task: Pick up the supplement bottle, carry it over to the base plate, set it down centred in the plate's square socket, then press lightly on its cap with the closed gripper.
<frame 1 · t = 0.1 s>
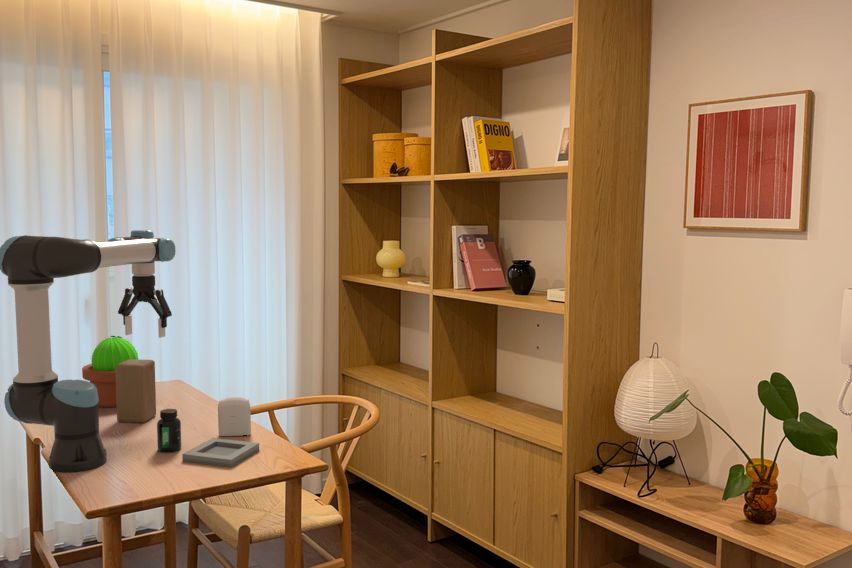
hand: (145, 335, 270), 28 cm above the table, tool pointing down, fingers open, 13 cm apart
base plate: (221, 455, 230), on the table
photo printer: (234, 435, 250), on the table
potted cactus: (116, 401, 289), on the table
wooden block: (137, 419, 267), on the table
supplement bottle: (169, 449, 235), on the table
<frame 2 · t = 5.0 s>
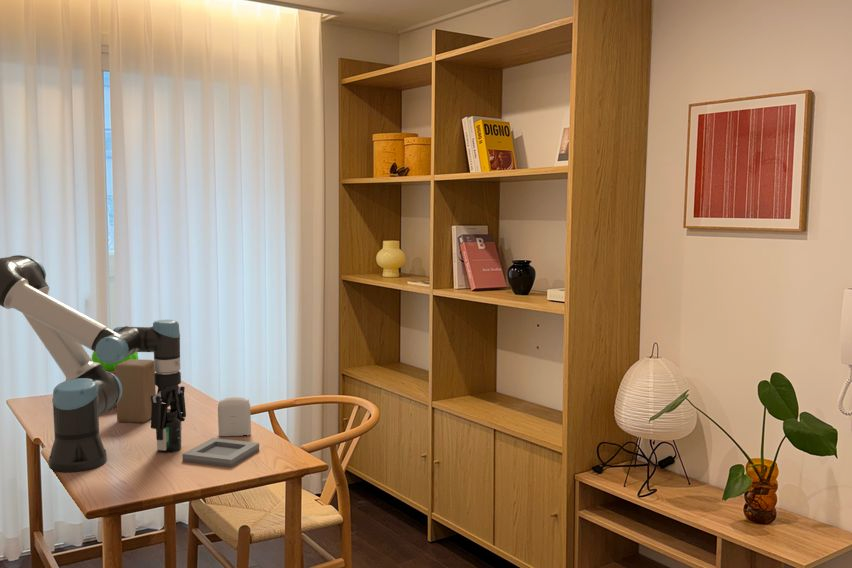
hand: (169, 445, 235), 1 cm above the table, tool pointing down, fingers closed on supplement bottle, 7 cm apart
supplement bottle: (169, 449, 235), on the table, touching gripper
everything else where it was.
when the fingers open (3 cm above the table, at t = 11.0 s): supplement bottle drops 1 cm, resting on base plate.
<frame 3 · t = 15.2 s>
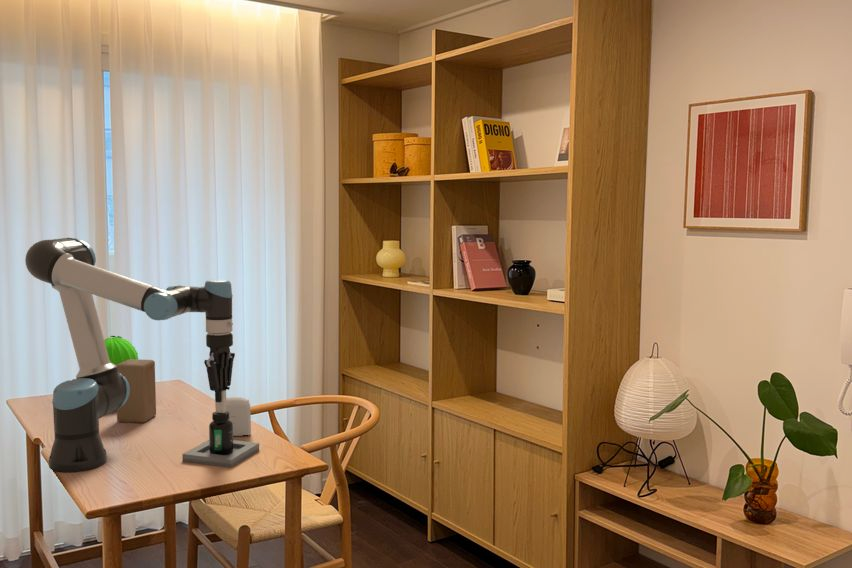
hand: (221, 411, 229), 13 cm above the table, tool pointing down, fingers closed
supplement bottle: (221, 452, 230), point 1 cm above the table, touching base plate, gripper
everything else where it was.
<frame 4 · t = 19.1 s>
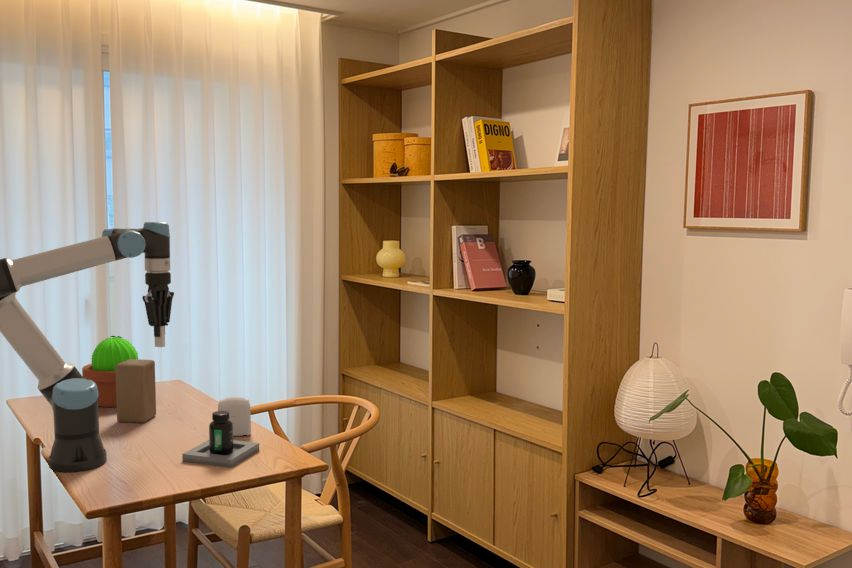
hand: (159, 346, 243), 29 cm above the table, tool pointing down, fingers closed
supplement bottle: (221, 452, 230), point 1 cm above the table, touching base plate
everything else where it was.
at the end: supplement bottle 0.1 cm off-centre on the base plate, point 0.8 cm above the base plate's base; supplement bottle tilted 0°; the gripper is holding nothing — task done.
